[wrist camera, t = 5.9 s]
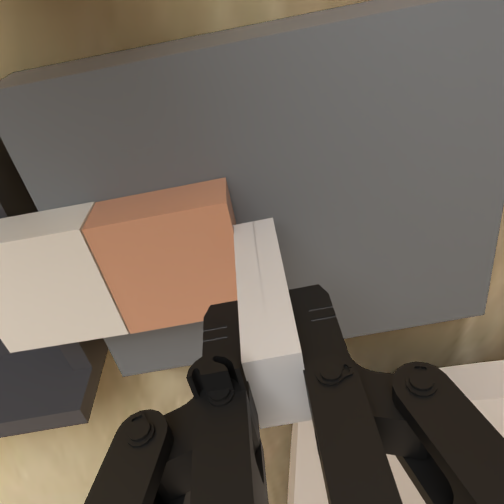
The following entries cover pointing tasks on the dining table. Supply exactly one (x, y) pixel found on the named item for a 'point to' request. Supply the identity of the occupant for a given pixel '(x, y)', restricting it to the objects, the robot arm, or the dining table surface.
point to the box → (43, 354)
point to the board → (310, 472)
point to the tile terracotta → (166, 253)
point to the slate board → (297, 151)
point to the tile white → (52, 282)
